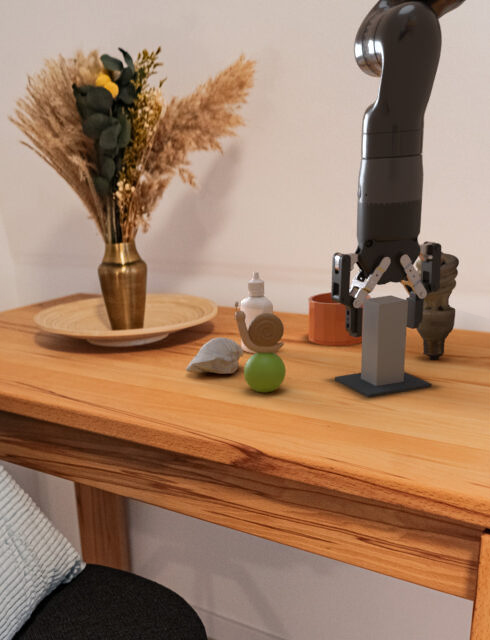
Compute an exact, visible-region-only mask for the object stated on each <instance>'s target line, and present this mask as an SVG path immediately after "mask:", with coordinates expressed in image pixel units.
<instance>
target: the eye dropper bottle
mask: <svg viewBox="0 0 490 640" xmlns="http://www.w3.org/2000/svg"><path fill="white" fill-rule="evenodd" d="M251 278H252V279H251V280H249V281H248V282H247V295H248V296H247V297H245V298H243V299H242V300H241V302H240V306H239V307H240V310H239V311H243V312H244V313H245V315H246V318H245V323H246V327H247V330H248V328H249V325H250V323H251V321H252V320H253V319H254V318H255V317H256V316H258V315H260V314H263V313H270V314H274V304H273V303H272V301H271V300H270V299H269V298H268V297H266V296H265V281H264V280H262V279H261V278H260V275H259V271H253V273H252V277H251ZM240 347H241V348H242V350H243V352H247V353H251V354H255V353H256V352H254V351H252V350H250V349H248V348H247V347H246V346H245V345H244V343H243V341H242V339H241V338H240Z"/></svg>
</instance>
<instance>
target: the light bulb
mask: <svg viewBox="0 0 490 640" xmlns="http://www.w3.org/2000/svg"><path fill="white" fill-rule="evenodd" d="M459 265H460V260H459V258H458V257H457V256H456V255H453V254H450V253H446V252H443V251H442V250H441V268H440V287H439V290H438V291H437V292H431V293H429V294H428V295H426V297H425V298H424V304H423V319H422V322H421V323H419V327H418V328H416V331H417V333H418V335H420V337H421V339H422V345H423V347H422V348H423V352H422V354H423V355H424V356H427V357H428V359H429V360H430V361H437V360H440V357H443V356H444V354H445V342H446V339H447V338H448V336H449V335H450V333H452V331H453V330H454V326H455V320H456V308H455V307H452V306H451V305H450V301H449V300H450V297H451V295H452V293H453V290H454V289H456V287H457V280H456V278H457V277H458V274H459V271H458V267H459ZM415 267H416V271H417V273H418V275H419V276H420V278H421V260H420V259H419V260H416V261H415ZM420 281H421V280H420Z"/></svg>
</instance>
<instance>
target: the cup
mask: <svg viewBox="0 0 490 640" xmlns="http://www.w3.org/2000/svg"><path fill="white" fill-rule="evenodd" d="M369 298H372V297H371V296H370V294H368V295H367V297H366V298H365V299H369ZM307 303H308V305H307V306H308V309H307V311H308V312H307V313H308V315H307V317H308V319H307V322H308V323H307V324H308V325H307V327H308V328H307V332H308V333H307V335H308V341H309V342H311V343H313V344H317V345H323V346H324V345H325V346H348V345H350V346H351V345H356V344H360V343H361V344H362V336H361V337H353V336H350V335H349V332H347V331H346V328H345V320H346V319H345V315H346V308H345V305H343V304H340V303H337V302H334V301H332V299H331V291H330V292H324V293H323V292H322V293H318V294H314V295H311V296H309V297H308V302H307ZM360 307H361V308H363V303H362V305H361V306H360ZM362 329H363V316H362Z"/></svg>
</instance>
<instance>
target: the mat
mask: <svg viewBox="0 0 490 640" xmlns="http://www.w3.org/2000/svg"><path fill="white" fill-rule="evenodd" d="M334 381H335V382H337V383H339V384H341V385H342V386H344V387H346V388H349V389H350V390H352V391H354V392H356V393H357V394H359V395H362V396H364V397H366V398H367V399H370V398H376V397H383V396H388V395H389V396H390V395H395V394H401V393H406V392H412V391H413V392H414V391H418V390H423V389H428V388H429V389H430V388H432V383H431V382H430V381H429V382H428V381H426V380H424V379H422V378H419V377H417V376H415V375H412V374H411V373H408V372H406V371H404V382H399V383H393V384H387V385H381V386H375V385H373V384H371V383H369V382H367V381H364V380H362V379H361V372H357V373H351V374H345V375H344V374H343V375H339V376H334Z"/></svg>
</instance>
